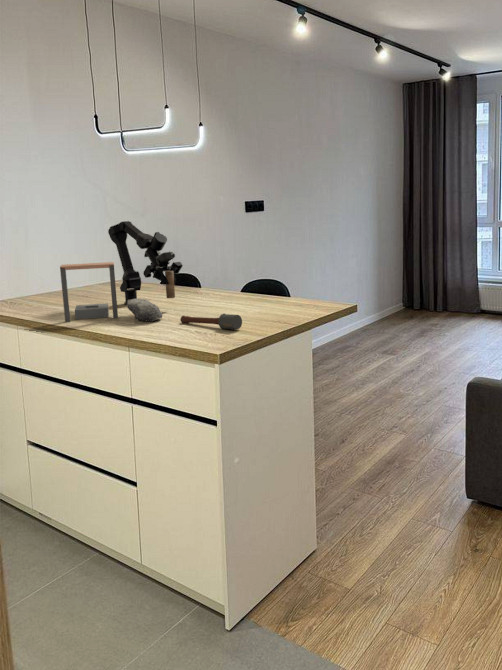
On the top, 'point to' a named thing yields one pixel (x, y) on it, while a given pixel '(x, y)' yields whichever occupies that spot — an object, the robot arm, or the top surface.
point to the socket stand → (90, 309)
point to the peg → (170, 284)
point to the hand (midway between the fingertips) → (171, 283)
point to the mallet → (217, 321)
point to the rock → (144, 310)
